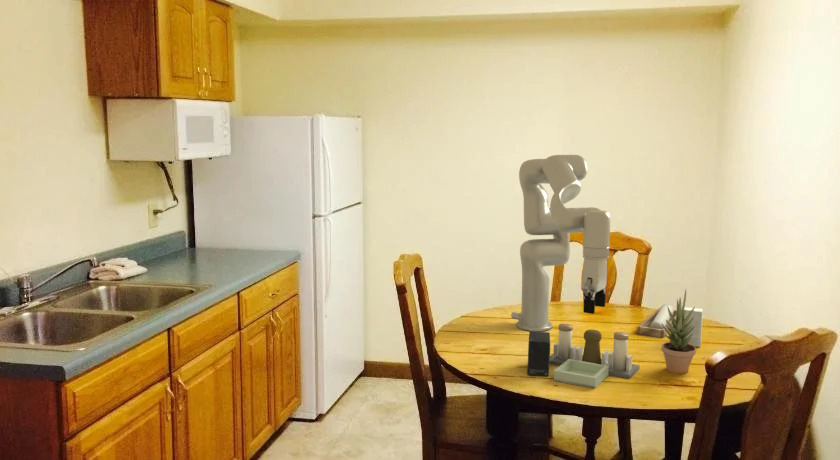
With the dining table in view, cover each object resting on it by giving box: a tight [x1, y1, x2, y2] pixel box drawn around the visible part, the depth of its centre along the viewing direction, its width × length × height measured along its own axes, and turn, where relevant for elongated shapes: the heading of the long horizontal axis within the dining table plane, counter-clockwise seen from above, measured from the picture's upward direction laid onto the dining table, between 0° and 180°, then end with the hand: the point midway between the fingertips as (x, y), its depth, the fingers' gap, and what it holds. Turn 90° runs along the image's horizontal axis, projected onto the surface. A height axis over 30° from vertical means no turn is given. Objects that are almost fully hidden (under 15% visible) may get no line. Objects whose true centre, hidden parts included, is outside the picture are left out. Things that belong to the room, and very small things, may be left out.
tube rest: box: [636, 307, 677, 338], centre depth 263 cm, size 9×30×2 cm, turn 148°
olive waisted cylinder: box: [582, 329, 602, 364], centre depth 219 cm, size 6×6×11 cm
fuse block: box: [549, 323, 641, 380], centre depth 219 cm, size 26×10×11 cm, turn 58°
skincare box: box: [684, 306, 704, 348], centre depth 240 cm, size 6×4×12 cm
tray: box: [553, 359, 609, 390], centre depth 209 cm, size 12×12×3 cm
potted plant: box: [661, 288, 697, 374], centre depth 214 cm, size 10×10×25 cm
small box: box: [526, 331, 551, 377], centre depth 215 cm, size 11×6×10 cm, turn 170°
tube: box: [649, 304, 675, 329], centre depth 263 cm, size 5×5×25 cm
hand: (594, 309), depth 217 cm, fingers open, 9 cm apart
